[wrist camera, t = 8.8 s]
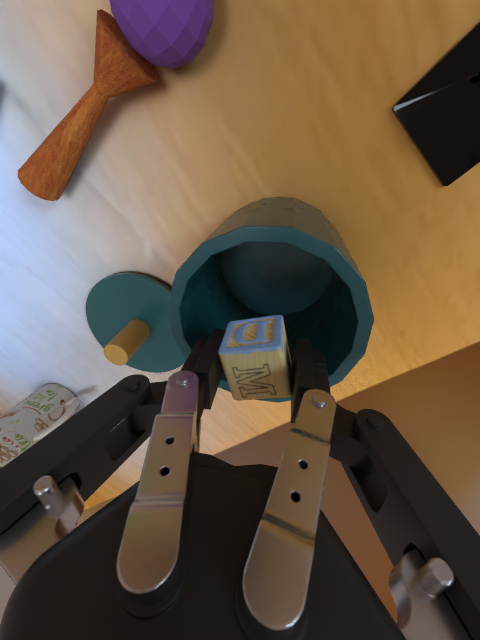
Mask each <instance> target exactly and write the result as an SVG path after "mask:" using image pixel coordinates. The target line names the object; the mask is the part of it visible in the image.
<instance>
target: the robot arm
mask: <svg viewBox="0 0 480 640" xmlns="http://www.w3.org/2000/svg"><path fill="white" fill-rule="evenodd" d="M225 332H226V330H223V329H213V330H212V332H211V334H210V336H209V337H205V336H203V337H201V338H200V339H199V340H197V341H196V343H195V345H194V347H193V349H192V350H191V352H190V354H189V356H188V358H187V360H186V361H185V363H184V365H183V367H182V369H181V371H178V372H176V373H174V374H172V375H171V376H170V377H169V379H168V381H164V382H155V383H150V382H149V379H148V378H147V377H146V376H144V375H131V376H128V377H126V378H124V379H123V380H121V381H120V382H118V383H117V384H116V385H114V386H113V387H112V388H110V389H109V390H107V391H106V392H105V393H103V394H102V395H101V396H99V397H98V398H97V399H95V400H94V401H92V402H91V403H90V404H88V405H87V406H86V407H84V408H83V409H81V410H80V411H79V412H77V413H76V414H75V415H73V416H72V417H71V418H69V419H68V420H66V421H65V422H64V423H62V424H61V425H60V426H58V427H57V428H56V429H54V430H53V431H51V432H50V433H49V434H47V435H46V436H45V437H43V438H42V439H40V440H39V441H38V442H36V443H35V444H34V445H32V446H31V447H30V448H28V449H27V450H25V451H24V452H23V453H21V454H20V455H19V456H17V457H16V458H14V459H13V460H12V461H10V462H9V463H8V464H6V465H5V466H4V467H2V468H1V469H0V565H1V566H2V568H3V569H4V570H5V571H6V573H7V574H8V575H9V577H10V578H11V579H12V581H13V582H14V583H15V584H16V587H15V588H14V590H13V592H12V594H11V596H10V598H9V600H8V603H7V606H6V608H5V611H4V613H3V617H2V621H1V624H0V640H480V536H479V535H478V533H477V532H476V531H475V529H474V528H473V527H472V525H471V524H470V523H469V521H468V520H467V519H466V518H465V516H464V515H463V514H462V513H461V511H460V510H459V509H458V507H457V506H456V505H455V503H454V502H453V501H452V500H451V498H450V497H449V496H448V495H447V493H446V492H445V490H444V489H443V488H442V487H441V485H440V484H439V483H438V482H437V480H436V479H435V478H434V476H433V475H432V474H431V472H430V471H429V470H428V469H427V467H426V466H425V465H424V464H423V462H422V461H421V460H420V458H419V457H418V456H417V454H416V453H415V452H414V450H413V449H412V448H411V447H410V445H409V444H408V443H407V441H406V440H405V439H404V438H403V436H402V435H401V434H400V432H399V431H398V430H397V429H396V427H395V426H394V425H393V424H392V422H391V421H390V420H389V419H388V418H387V417H386V416H385V415H384V414H382V413H380V412H378V411H376V410H372V409H363V410H360V411H359V412H358V413H357V414H356V413H354V412H351V411H349V410H346V409H344V408H342V407H341V406H339V405H338V404H337V403H336V401H335V399H334V397H333V396H332V395H331V393H330V386H329V379H328V372H327V366H326V358H325V356H324V355H323V354H322V352H321V351H318V350H312V345H311V340H306V339H298V338H297V339H296V345H295V351H294V357H293V364H292V386H291V388H292V393H291V423H294V426H293V428H292V429H291V431H290V434H289V437H288V440H287V443H286V446H285V449H284V453H283V455H282V458H281V461H280V464H279V467H274V466H268V465H263V464H258V465H244V466H233V465H231V464H229V463H226V462H224V461H222V460H220V459H218V458H216V457H214V456H212V455H208V454H203V453H199V448H200V433H201V416H202V413H203V410H204V409H211V406H212V403H213V400H214V397H215V394H216V391H217V388H218V385H219V382H220V379H221V376H222V373H223V367H222V364H221V361H220V358H219V356H218V351H219V348H220V345H221V343H222V340H223V337H224V334H225ZM122 420H123V421H122ZM121 421H122V422H121ZM120 422H121V423H120ZM119 423H120V424H119ZM115 426H116V427H115ZM114 427H115V428H114ZM113 428H114V429H113ZM112 429H113V430H112ZM111 430H112V431H111ZM150 435H151V436H150ZM149 436H150V440H149V444H148V448H147V452H146V456H145V460H144V465H143V469H142V473H141V477H140V480H139V481H138V482H137V483H135V484H134V485H133V486H131V487H130V488H129V489H127V490H126V491H125V492H123V493H122V494H121V495H119V496H118V497H117V498H115V499H114V500H113V501H111V502H110V503H109V504H107V505H106V506H105V507H103V508H102V509H101V510H99V511H98V512H96V513H95V514H94V515H92V516H91V517H90V518H88V519H87V520H86V521H84V522H83V523H82V524H80V525H79V526H78V527H76V525H77V522H78V520H79V518H80V516H81V514H82V512H83V509H84V502H85V501H86V500H87V499H88V498H89V497H90V496H91V495H92V494H93V493H94V492H95V491H96V490H97V489H98V488H99V487H100V486H101V485H102V484H103V483H104V482H105V481H106V480H107V479H108V478H109V477H110V476H111V475H112V474H113V473H114V472H115V471H116V470H117V469H118V468H119V467H120V466H121V465H122V464H123V463H124V462H125V461H126V460H127V459H128V458H129V457H130V456H131V455H132V453H133V452H134V451H135V450H136V449H137V448H138V447H139V446H140V445H141V444H142V443H143V442H144V441H145V440H146V439H147V438H148V437H149ZM329 456H330V457H332V458H334V459H336V460H338V461H340V462H341V463H342V466H343V468H344V470H345V472H346V474H347V476H348V478H349V480H350V482H351V484H352V486H353V488H354V489H355V492H356V493H357V495H358V497H359V499H360V501H361V503H362V505H363V507H364V509H365V511H366V513H367V515H368V517H369V519H370V521H371V523H372V525H373V527H374V529H375V531H376V533H377V535H378V537H379V539H380V541H381V542H382V544H383V546H384V548H385V550H386V552H387V554H388V556H389V558H390V560H391V562H392V564H393V566H394V568H393V569H392V571H391V573H390V577H389V585H390V590H391V594H392V596H393V599H394V602H395V605H396V609H397V624H396V623H395V621H394V620H393V618H392V617H391V615H390V613H389V612H388V610H387V609H386V607H385V606H384V605H383V603H382V602H381V600H380V598H379V597H378V595H377V594H376V592H375V591H374V589H373V588H372V586H371V585H370V583H369V582H368V580H367V579H366V577H365V576H364V574H363V572H362V571H361V569H360V568H359V567H358V565H357V564H356V562H355V561H354V559H353V557H352V556H351V554H350V553H349V551H348V550H347V548H346V547H345V545H344V544H343V542H342V541H341V539H340V538H339V536H338V535H337V533H336V532H335V530H334V529H333V527H332V526H331V524H330V522H329V521H328V519H327V518H326V516H325V515H324V513H323V512H322V510H321V509H320V506H321V500H322V494H323V488H324V483H325V477H326V471H327V464H328V459H329ZM75 527H76V528H75ZM74 528H75V529H74ZM73 529H74V530H73ZM69 532H70V533H69Z"/></svg>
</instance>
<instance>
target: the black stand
mask: <svg viewBox="0 0 480 640" xmlns="http://www.w3.org/2000/svg"><path fill="white" fill-rule="evenodd" d="M393 112H394V114H395V115H396V117H397V118H398V120H399V121H400V123H401V124H402V126H403V127H404V129H405V130H406V132H407V133H408V135H409V136H410V138H411V139H412V141H413V142H414V144H415V145H416V147H417V148H418V150H419V151H420V153H421V154H422V156H423V157H424V159H425V160H426V162H427V163H428V165H429V166H430V168H431V169H432V171H433V172H434V174H435V175H436V177H437V178H438V180H439V181H440V183H441V184H442V185H443V186H448V185H450V184H451V183H452V182H454V181H455V180H456V179H458V178H459V177H460V176H462V175H463V174H464V173H466V172H467V171H468V170H470V169H471V168H472V167H473V166H475V165H476V164H477V163H479V162H480V22H479V23H478V24H477V25H476V26H475V27H474V28H473V29H472V30H471V31H470V32H469V33H468V34H467V35H466V36H465V37H464V38H463V39H462V40H461V41H460V42H459V43H458V44H457V45H456V46H455V47H454V48H453V49H452V50H450V51H449V52H448V53H447V54H446V55H445V56H444V57H443V58H442V59H441V60H440V61H439V62H438V63H437V64H436V65H435V66H434V67H433V68H432V69H431V70H430V71H429V72H428V73H427V74H426V75H425V76H424V77H423V78H422V79H421V80H420V81H419V82H418V83H417V84H416V85H415V86H414V87H413V88H412V89H411V90H409V91H408V92H407V93H406V94H405V95H404V96H403V97H402V98H401V99H400V100H399V101H398V102H397V103H396V104H395V105H394V106H393Z"/></svg>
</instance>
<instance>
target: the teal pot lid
mask: <svg viewBox="0 0 480 640" xmlns="http://www.w3.org/2000/svg"><path fill="white" fill-rule="evenodd" d="M170 293H171V289H170V288H169V287H167V286H166V285H164V284H163V283H161V282H159V281H157V280H155V279H153V278H151V277H148V276H145V275H141V274H137V273H117V274H113V275H110V276H108V277H106V278H104V279H102V280H101V281H99V282H98V283H97V284H96V285H95V286H94V287H93V288H92V289H91V291H90V293H89V295H88V298H87V302H86V316H87V320H88V324H89V326H90V329H91V331H92V333H93V335H94V336H95V338H96V339H97V341H98V342H99V343H100V344H101V346H102V347H103V348H104V355H105V357H106V358H107V359H108V360H109V361H110V362H112V363H114V364H116V365H124V364H126V365H128V366H130V367H133V368H135V369H138V370H142V371H147V372H166V371H170V370H173V369H176V368H178V367H180V366H181V365H182V364H184V363H185V361H186V358H185V357H184V355H183V354H182V352H181V350H180V349H179V347H178V345H177V344H176V342H175V341H174V339H173V337H172V332H171V326H170V320H169V315H168V309H167V303H168V300H169V296H170Z"/></svg>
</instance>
